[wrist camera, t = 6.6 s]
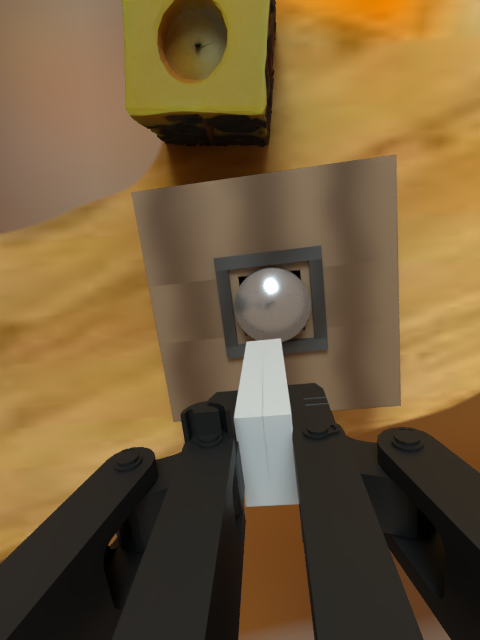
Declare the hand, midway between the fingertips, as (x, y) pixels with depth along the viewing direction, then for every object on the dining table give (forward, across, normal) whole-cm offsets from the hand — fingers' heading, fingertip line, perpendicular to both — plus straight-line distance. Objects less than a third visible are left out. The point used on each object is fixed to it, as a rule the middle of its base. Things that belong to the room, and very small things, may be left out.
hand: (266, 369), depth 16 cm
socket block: (+22, +1, 0) cm, 22 cm away
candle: (+23, -2, +19) cm, 30 cm away
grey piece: (+21, 0, 0) cm, 21 cm away
